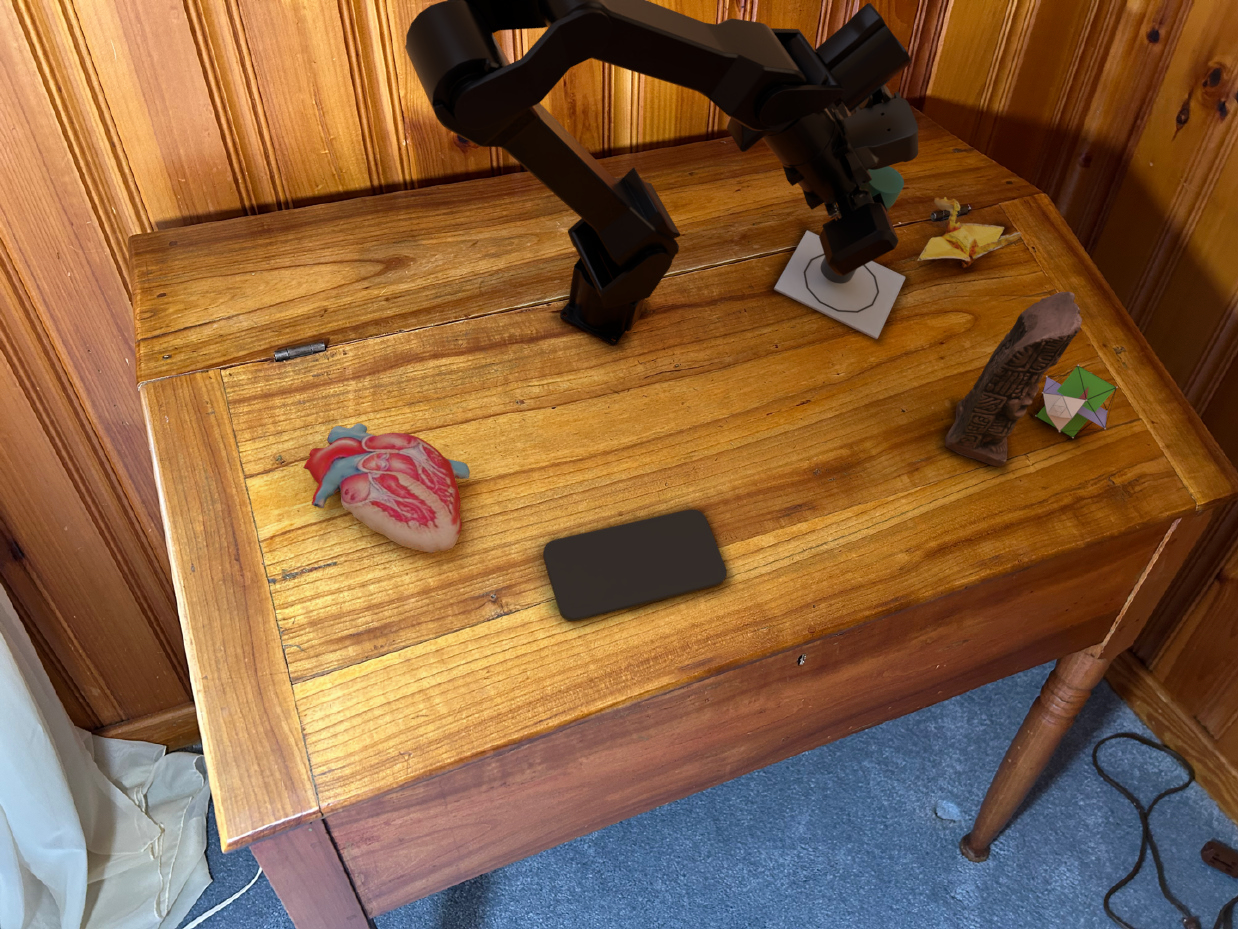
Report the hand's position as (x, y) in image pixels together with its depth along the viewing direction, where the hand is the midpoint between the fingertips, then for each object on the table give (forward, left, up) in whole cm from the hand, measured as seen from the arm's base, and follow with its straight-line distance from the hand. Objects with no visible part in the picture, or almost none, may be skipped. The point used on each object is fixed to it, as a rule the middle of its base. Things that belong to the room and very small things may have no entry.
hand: (871, 226), depth 93 cm
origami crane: (+10, +11, -8) cm, 17 cm away
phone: (-5, -42, -8) cm, 43 cm away
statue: (+18, -12, -8) cm, 23 cm away
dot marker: (-1, -1, -7) cm, 7 cm away
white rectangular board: (0, -1, -8) cm, 8 cm away
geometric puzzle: (+26, -5, -8) cm, 28 cm away
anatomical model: (-26, -47, -8) cm, 54 cm away
